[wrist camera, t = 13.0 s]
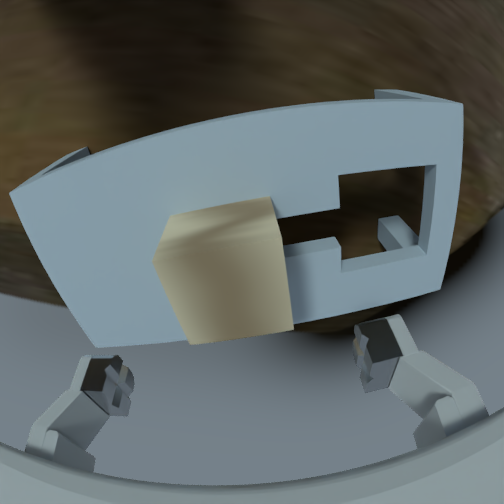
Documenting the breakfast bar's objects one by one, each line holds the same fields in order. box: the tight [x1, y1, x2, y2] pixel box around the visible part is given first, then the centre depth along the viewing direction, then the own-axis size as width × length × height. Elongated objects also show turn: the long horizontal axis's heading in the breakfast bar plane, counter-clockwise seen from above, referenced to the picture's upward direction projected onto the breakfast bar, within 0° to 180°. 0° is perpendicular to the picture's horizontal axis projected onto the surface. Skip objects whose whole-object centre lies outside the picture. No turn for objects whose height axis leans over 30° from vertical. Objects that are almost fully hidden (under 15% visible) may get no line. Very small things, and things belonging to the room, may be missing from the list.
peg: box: [152, 196, 294, 345], centre depth 16 cm, size 5×5×8 cm
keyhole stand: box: [9, 90, 463, 348], centre depth 19 cm, size 26×13×8 cm, turn 100°
